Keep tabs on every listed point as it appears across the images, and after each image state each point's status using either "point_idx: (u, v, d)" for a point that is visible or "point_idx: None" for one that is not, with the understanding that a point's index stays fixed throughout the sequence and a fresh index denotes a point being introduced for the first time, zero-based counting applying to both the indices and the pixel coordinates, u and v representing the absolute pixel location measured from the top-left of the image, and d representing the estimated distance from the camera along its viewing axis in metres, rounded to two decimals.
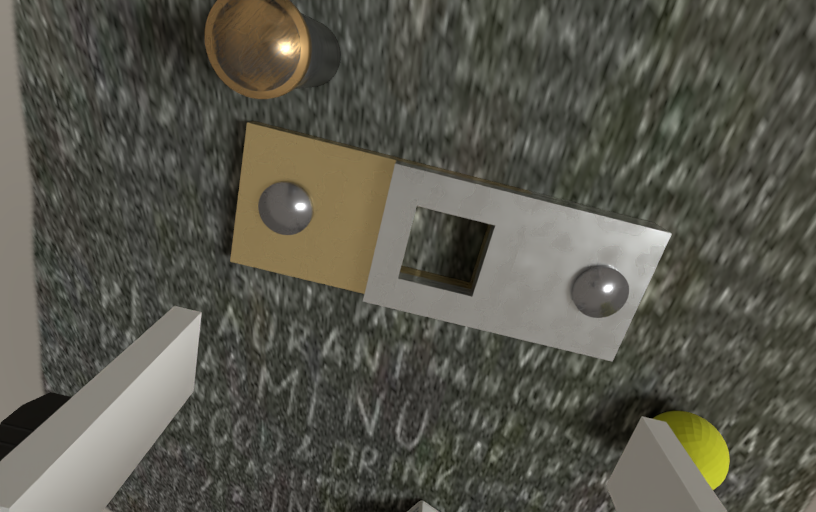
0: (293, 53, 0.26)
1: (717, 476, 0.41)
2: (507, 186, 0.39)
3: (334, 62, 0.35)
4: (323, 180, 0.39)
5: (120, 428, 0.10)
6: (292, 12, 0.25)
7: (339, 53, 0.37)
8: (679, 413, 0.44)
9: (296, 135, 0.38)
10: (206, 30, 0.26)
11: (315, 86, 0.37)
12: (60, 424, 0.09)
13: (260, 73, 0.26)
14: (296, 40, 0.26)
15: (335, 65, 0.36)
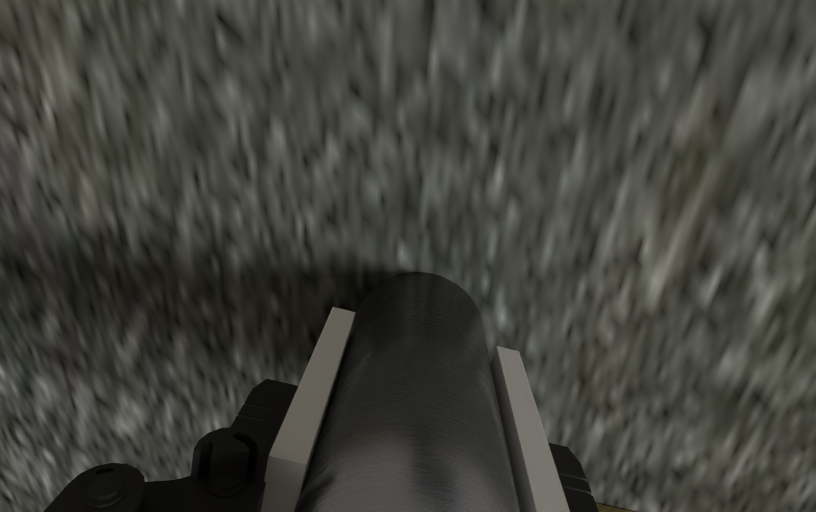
0: None
1: None
2: None
3: None
4: None
5: None
6: None
7: None
8: None
9: None
10: None
11: None
12: (304, 402, 0.11)
13: None
14: None
15: None
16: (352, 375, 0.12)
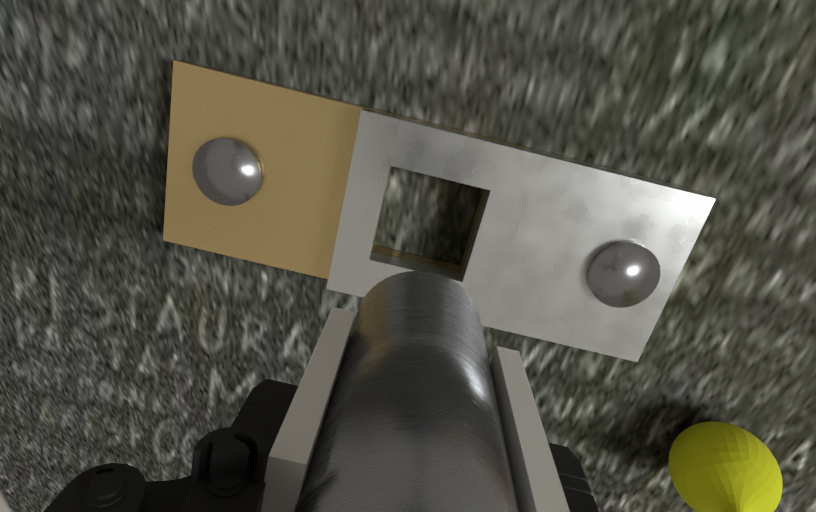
0: None
1: (769, 505, 0.33)
2: (506, 142, 0.31)
3: None
4: (273, 135, 0.31)
5: None
6: None
7: None
8: (718, 424, 0.36)
9: (237, 77, 0.30)
10: None
11: None
12: (304, 402, 0.11)
13: None
14: None
15: None
16: (354, 369, 0.13)
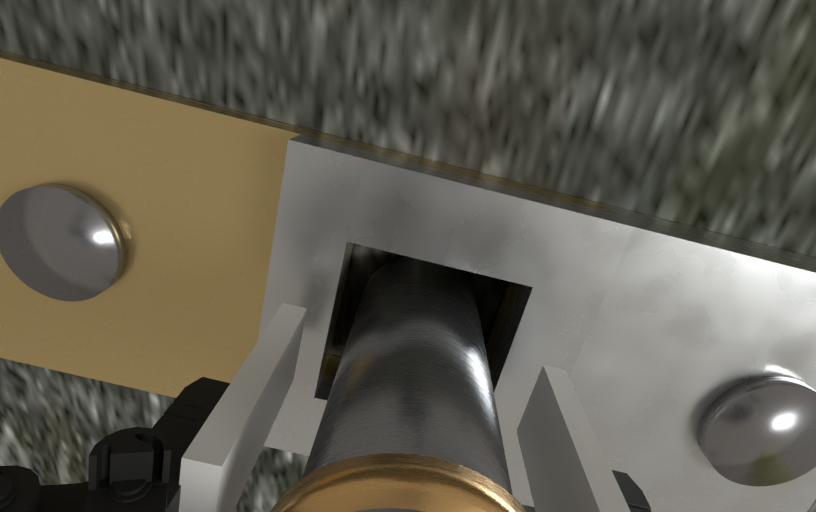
0: None
1: None
2: (557, 194, 0.17)
3: None
4: (140, 180, 0.17)
5: (265, 407, 0.12)
6: None
7: None
8: None
9: (63, 75, 0.16)
10: None
11: None
12: (233, 401, 0.10)
13: None
14: None
15: None
16: (361, 336, 0.14)
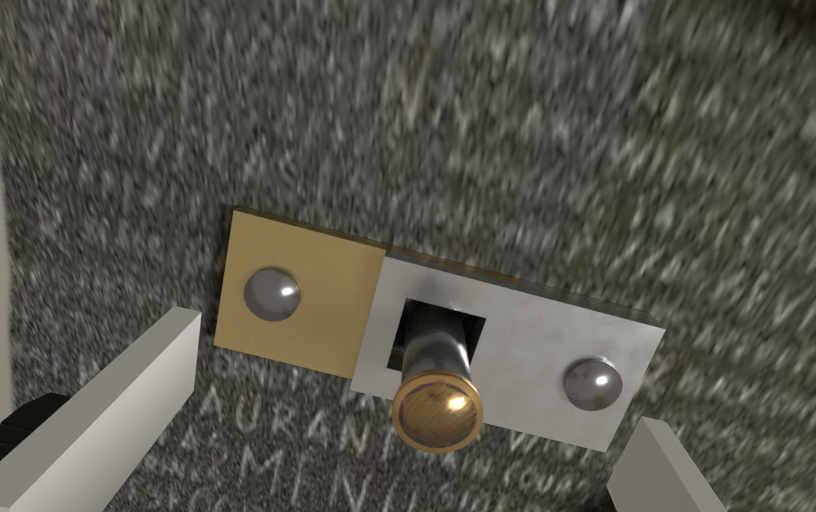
0: (469, 423, 0.30)
1: None
2: (499, 275, 0.39)
3: None
4: (311, 267, 0.38)
5: (120, 428, 0.10)
6: (473, 395, 0.29)
7: None
8: None
9: (284, 223, 0.37)
10: (395, 404, 0.29)
11: None
12: (60, 424, 0.09)
13: (437, 435, 0.30)
14: (473, 414, 0.29)
15: None
16: (415, 337, 0.35)
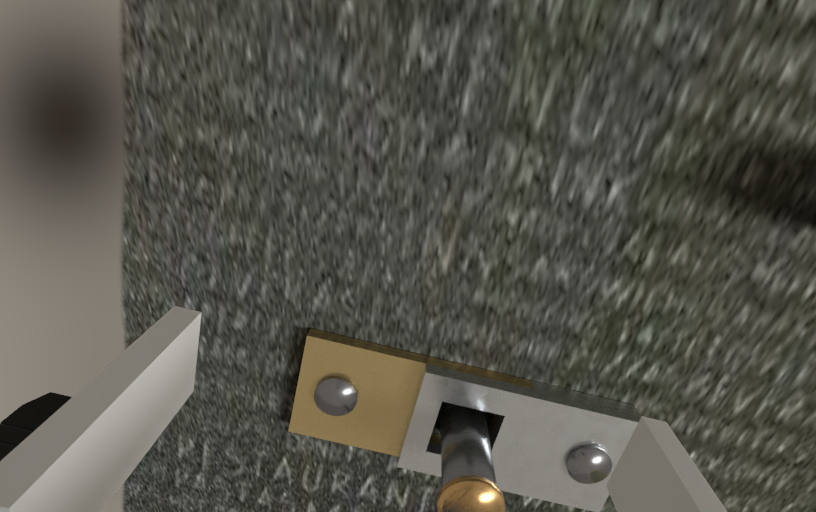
0: None
1: None
2: (514, 379, 0.49)
3: None
4: (366, 376, 0.48)
5: (120, 428, 0.10)
6: (497, 496, 0.40)
7: None
8: None
9: (346, 344, 0.47)
10: (440, 501, 0.40)
11: None
12: (60, 424, 0.09)
13: None
14: (497, 508, 0.40)
15: None
16: (450, 436, 0.46)
